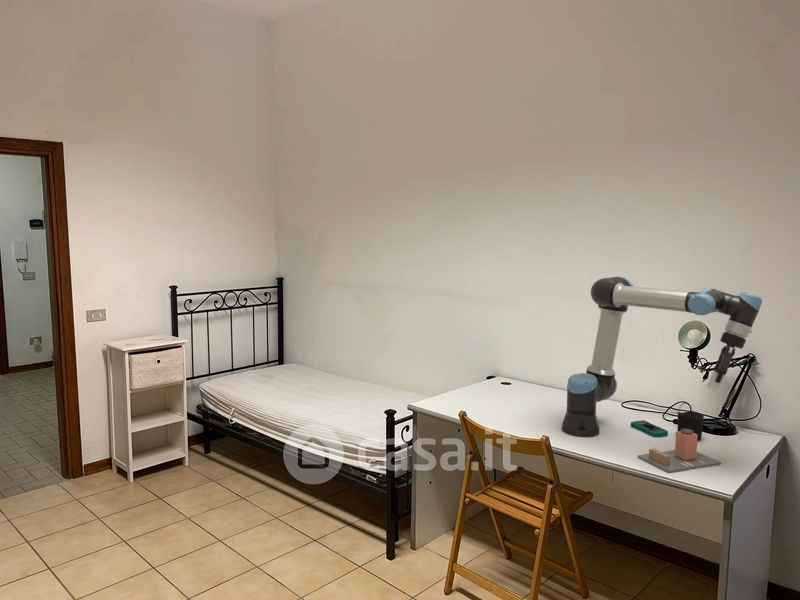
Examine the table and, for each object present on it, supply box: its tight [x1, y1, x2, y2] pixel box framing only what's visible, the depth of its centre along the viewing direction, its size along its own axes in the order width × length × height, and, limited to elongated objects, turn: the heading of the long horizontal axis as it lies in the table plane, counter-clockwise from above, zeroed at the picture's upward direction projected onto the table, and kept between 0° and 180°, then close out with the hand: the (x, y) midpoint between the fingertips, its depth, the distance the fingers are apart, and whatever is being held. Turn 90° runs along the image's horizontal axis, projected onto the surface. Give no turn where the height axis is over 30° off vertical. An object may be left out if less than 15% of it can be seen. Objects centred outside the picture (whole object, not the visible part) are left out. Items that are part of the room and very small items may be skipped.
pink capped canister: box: [674, 429, 698, 460], centre depth 211 cm, size 5×5×10 cm
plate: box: [636, 448, 722, 474], centre depth 210 cm, size 24×15×4 cm, turn 109°
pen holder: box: [676, 410, 705, 442], centre depth 234 cm, size 9×9×10 cm
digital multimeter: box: [630, 420, 669, 438], centre depth 243 cm, size 7×15×3 cm, turn 18°
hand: (711, 389), depth 209 cm, fingers open, 13 cm apart
